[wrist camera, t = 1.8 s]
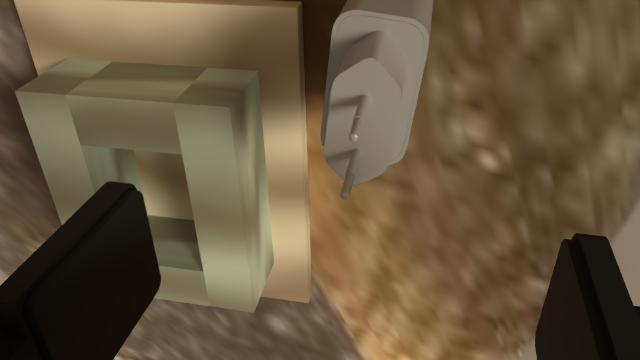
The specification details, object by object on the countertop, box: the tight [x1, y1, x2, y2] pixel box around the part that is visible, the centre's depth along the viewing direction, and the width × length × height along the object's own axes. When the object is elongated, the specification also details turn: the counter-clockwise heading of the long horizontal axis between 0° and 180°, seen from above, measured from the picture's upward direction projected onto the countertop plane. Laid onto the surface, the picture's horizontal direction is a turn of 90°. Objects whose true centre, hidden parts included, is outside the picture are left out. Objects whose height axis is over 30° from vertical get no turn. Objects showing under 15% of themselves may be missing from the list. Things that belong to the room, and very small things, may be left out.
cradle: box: [14, 0, 312, 312], centre depth 28 cm, size 18×14×5 cm
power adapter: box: [321, 0, 433, 199], centre depth 19 cm, size 3×5×12 cm, turn 174°
